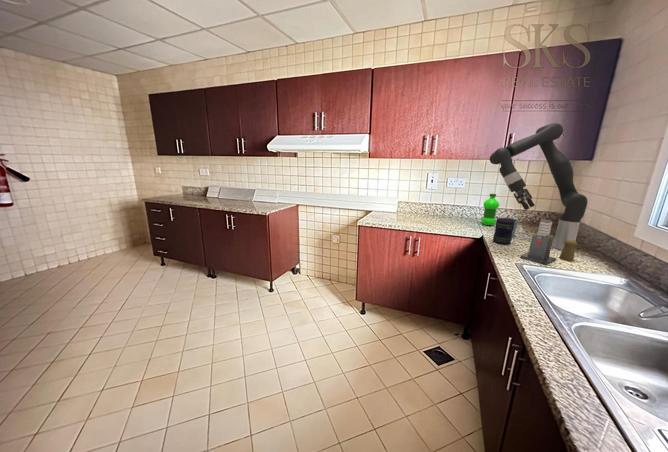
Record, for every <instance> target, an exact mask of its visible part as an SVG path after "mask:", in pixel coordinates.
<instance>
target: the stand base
mask: <svg viewBox="0 0 668 452" xmlns="http://www.w3.org/2000/svg"><path fill="white" fill-rule="evenodd" d="M554 239H555V235H550V234H549V237H543V236H538V232H537V233H534V234H532V236H531V240H530V245H529V249H528V252H526V253H523V254H521V255H520V256H519V259H522V260H525V261H529V262H532V263H535V264H540V265H543V266H548V265H551V264H552V262H553V263H554V262H556V260H557V257H554V256H550V254H551V250H552V247H553V243H554ZM550 263H551V264H550Z"/></svg>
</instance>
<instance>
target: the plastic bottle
mask: <svg viewBox="0 0 668 452" xmlns="http://www.w3.org/2000/svg"><path fill="white" fill-rule="evenodd" d="M496 197H497V193H489V198H488V199H485V201H484V202H483V207H484V210H483V211H484V213H483V217H482V218H481V221H480V222H481V223H482V224H483V225H484V226H486V225H492V226H494V224H495V225H496V221H497V218H496V214H497V209H499V207H500V202H499V201H498V200H497V199H496Z"/></svg>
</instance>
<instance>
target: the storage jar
mask: <svg viewBox="0 0 668 452" xmlns="http://www.w3.org/2000/svg"><path fill="white" fill-rule="evenodd" d="M505 218H506V217H500V218H496V222H495V227H494V228H495V229H494V233H493V237H492V242H493V243H494V244H497V245H501V246H509V245H511V242H512V239H513V238H512V231H513V229H514V223H515V221H514V220H511V219H505Z"/></svg>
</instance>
